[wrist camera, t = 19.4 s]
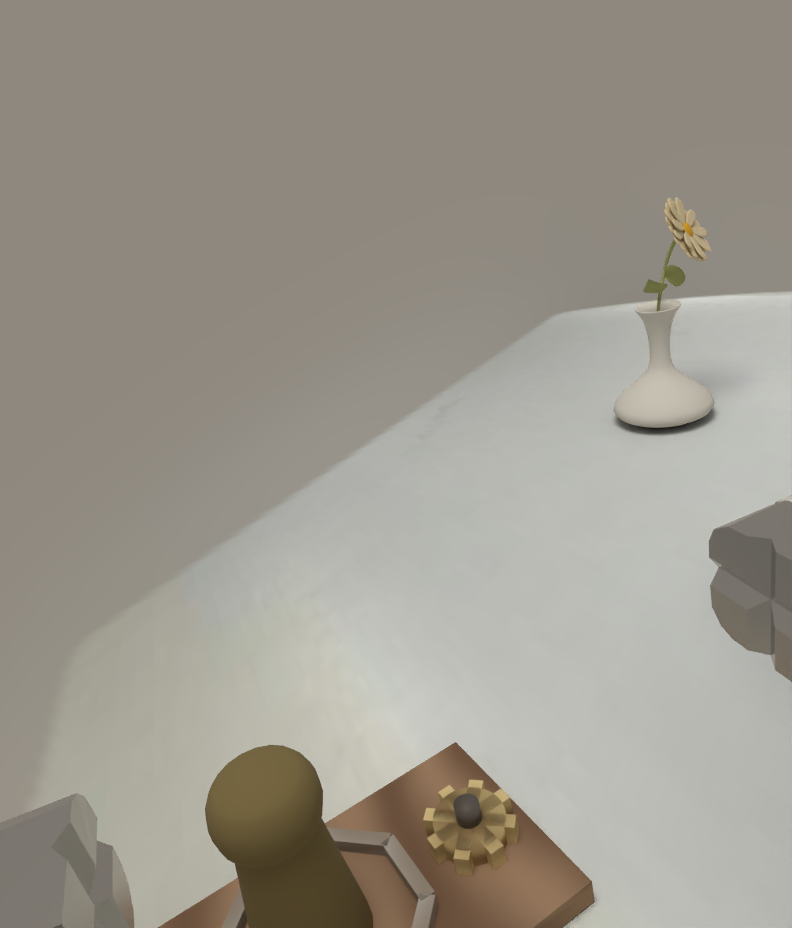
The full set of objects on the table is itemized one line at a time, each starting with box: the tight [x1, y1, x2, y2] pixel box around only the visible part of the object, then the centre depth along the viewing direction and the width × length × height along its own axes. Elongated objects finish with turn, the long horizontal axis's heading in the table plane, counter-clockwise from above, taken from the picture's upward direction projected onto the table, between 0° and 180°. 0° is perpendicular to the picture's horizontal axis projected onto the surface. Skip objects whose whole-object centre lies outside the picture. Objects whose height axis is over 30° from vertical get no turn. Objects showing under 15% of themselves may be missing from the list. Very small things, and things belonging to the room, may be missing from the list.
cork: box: [205, 745, 373, 928], centre depth 34 cm, size 6×6×11 cm
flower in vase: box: [614, 198, 714, 428], centre depth 84 cm, size 13×11×25 cm
